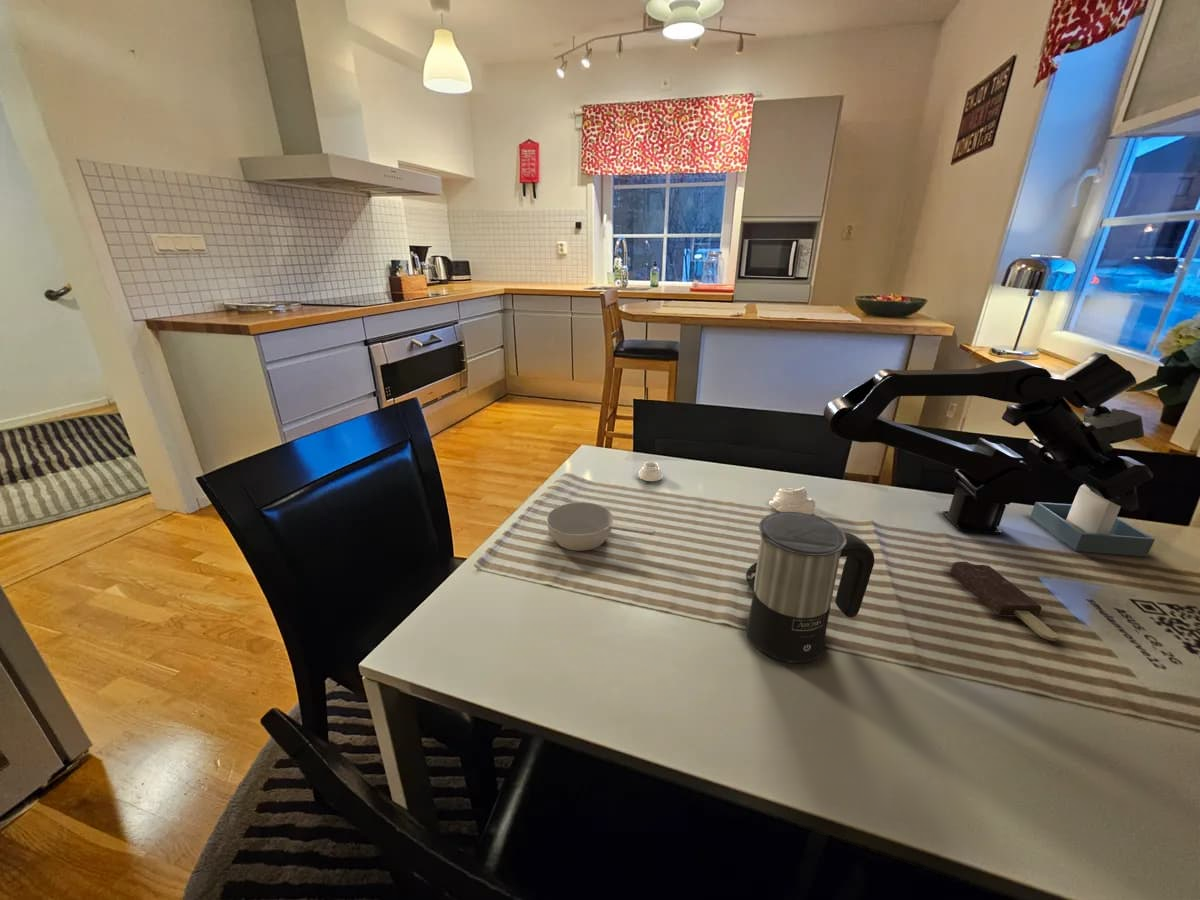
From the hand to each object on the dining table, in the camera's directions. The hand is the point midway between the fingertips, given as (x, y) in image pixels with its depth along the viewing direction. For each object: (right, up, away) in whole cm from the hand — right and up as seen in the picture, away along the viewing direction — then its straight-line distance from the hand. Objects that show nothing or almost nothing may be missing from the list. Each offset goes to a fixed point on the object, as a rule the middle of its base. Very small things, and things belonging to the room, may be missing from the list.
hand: (1111, 496), depth 79 cm
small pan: (-83, -7, +1) cm, 83 cm away
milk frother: (-60, -14, -16) cm, 63 cm away
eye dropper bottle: (-2, -6, +3) cm, 7 cm away
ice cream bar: (-29, -13, -13) cm, 34 cm away
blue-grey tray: (-1, -7, +3) cm, 8 cm away
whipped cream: (-48, -4, +11) cm, 49 cm away
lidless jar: (-72, +1, +24) cm, 76 cm away
